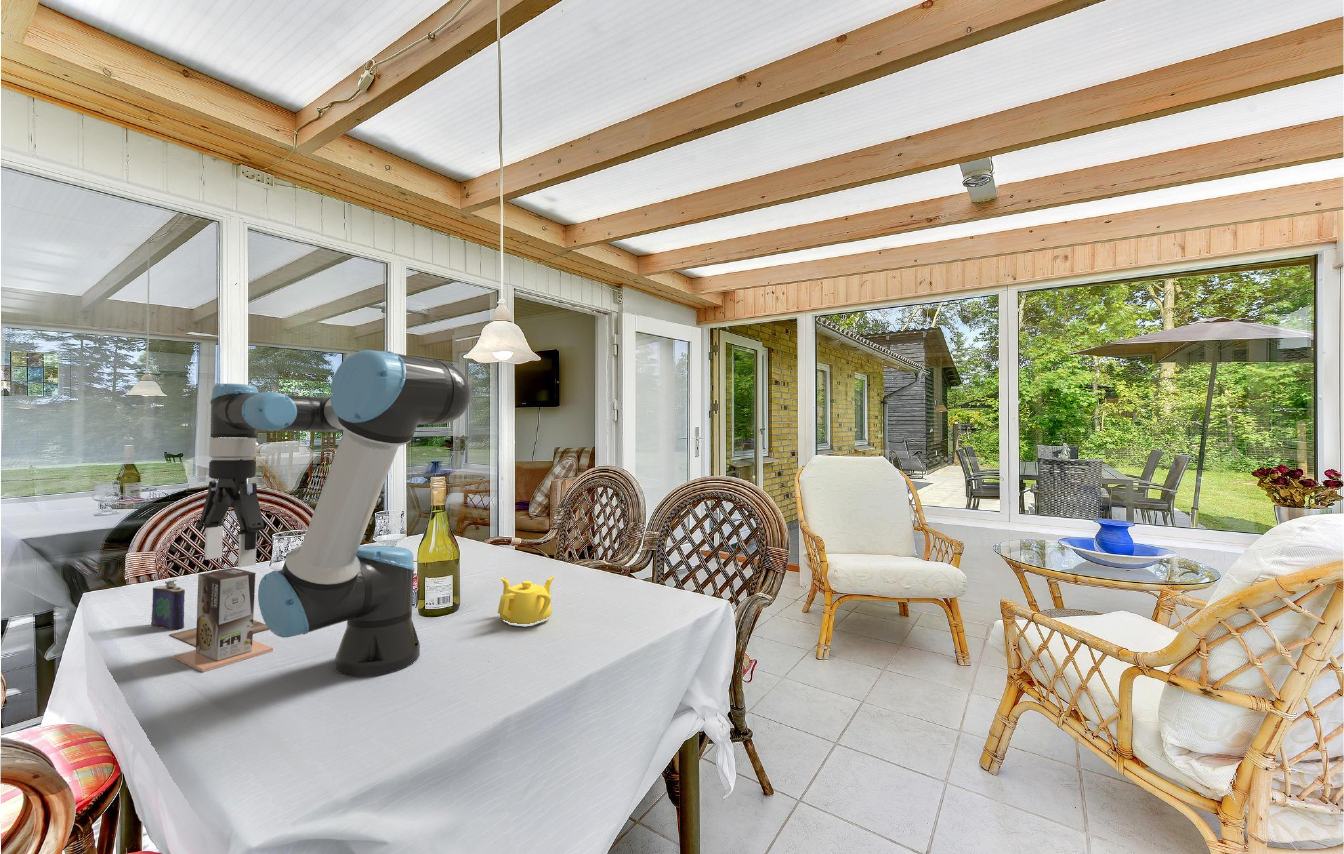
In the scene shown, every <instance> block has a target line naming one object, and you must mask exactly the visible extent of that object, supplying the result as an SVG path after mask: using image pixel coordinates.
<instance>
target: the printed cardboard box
mask: <svg viewBox="0 0 1344 854" xmlns="http://www.w3.org/2000/svg"><path fill="white" fill-rule="evenodd" d="M256 574H257V573H256V572H252V571H249V570H245V569H239V568H235V567H231V568H224V569H220V570H219V569H218V570H213V571H211V572H205V573H200V574H198V576H197V604H196V605H197V606H196V628H197V631H196V646H195V650H196V653H199V654H201V655H204V656H206V657H209V658H212V659H214V660H217V661H218V660H222V659H225V658H229V657H232V656H236V655H239V654H243V653H246V652H250V651H252V640H253V637H254V634H253V620H254V613H255V611H254V610H255V609H254V608H255V595H256V594H255V593H256V592H255V590H256Z"/></svg>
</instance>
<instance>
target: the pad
mask: <svg viewBox="0 0 1344 854" xmlns="http://www.w3.org/2000/svg"><path fill="white" fill-rule="evenodd" d="M270 651H271V652H274V647H272V646H269V645H268V644H264V643H261V642H259V641H257V640H253V639H252V651H250V652H246V653H243V654H239V655H236V656H232V657H229V658H225V659H222V660H218V661H217V660H214V659H212V658H209V657H206V656H204V655H201V654H199V653H196V649H194V650H190V651H186V652H183V653H179V654H175V655H173V660H176V659H177V660H176V661H178V660H179V661H178V662H180V661H181V662H180V663H182V662H183V663H182V664H184V663H185V664H184V665H186V664H187V665H186V666H188V665H190V666H191V667H190V666H189V667H190V668H193V667H194V668H193V669H195V670H197V669H198V670H197V671H200V672H201V671H202V672H201V673H204V672H203V671H205V672H207V671H208V672H209V671H211V670H210V669H212V670H215V669H218V668H220V667H225V666H227V665H230V664H231V665H232V664H233V663H237V662H240V661H243V660H247V659H251V658H254V657H258V656H260V655H265V654H267V653H270Z"/></svg>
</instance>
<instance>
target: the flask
mask: <svg viewBox="0 0 1344 854" xmlns="http://www.w3.org/2000/svg"><path fill="white" fill-rule="evenodd" d="M175 582H177V579H173V580H171V579H170V580H168V581H164V584H165V585H157V586H154V587H152V605H151V623H150V625H151V626H152V627H157V628H159V627H164V628H163V629H165V630H170V631H179V629H180V630H182V629H184V628H185V593H186V592H185V591H186V590H185V588H182V587H181V586H178V585H177V583H175Z"/></svg>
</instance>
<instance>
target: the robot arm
mask: <svg viewBox="0 0 1344 854" xmlns="http://www.w3.org/2000/svg"><path fill="white" fill-rule="evenodd" d="M329 392H330V393H331V394H332V395H331V396H307V395H296V394H295V395H294V394H284V393H280V392H275V391H261V392H259V389H258V387H256V386H255V385H251V384H242V383H217V384H215V385H214V386H213V387H212V391H211V399H210V403H209V404H210V436H209V446H208V447H209V448H208V449H209V450H208V452H209V453H208V456H209V457H210V458H212V459H211V460H210V461H209V462H208V464H209V465H208V477H209V478H211V479H213V480H209V482H208V490H207V491H208V492H207V494H206V498H205V501H204V504H203V508H202V511H201V512H202V513H201V516H200V519H199V523H200V524H201V525H202V524H203V527H204V528H205V537H204V538H205V539H204V540H205V541H204V560H206V561H207V560H213V559H220V558H223V539H224V538H223V537H224V536H223V535H224V526H225V522H224V521H223V520H224V518H225V517H226V514H227V512H228V510H229V508H232V509H233V511H234V514H235V517H236V520H237V522H238V524H239V528H240V530H239V531H238V556H237V557H238V560H237V563H238V564H237V568H244V567H249V566H256V565H257V538H258V537H257V535H258V533H259V531H263V530H264V529H265V524H264V519H263V515H262V510H261V507H260V502H259V497H258V487H257V486H258V485H257V483H255V482H253V483H252V482H251V483H250V482H249V483H248V479H252V478H255V477H256V474H257V461H256V460H255V459H253V458H255V457H256V456H257V447H258V446H259V443H258V442H257V438H258V435H257V434H258V431H263V432H268V431H270V432H275V431H279V432H280V431H281V432H283V431H284V432H286V431H287V432H291V431H292V432H323V433H324V432H329V433H342V435H341V438H340V440H339V443H338V446H337V449H336V452H335V454H334V458H333V459H332V462H331V465H330V468H329V471H328V473H327V476H326V479H325V481H324V483H323V486H322V490H321V492H320V495H319V498H318V500H317V502H316V506H315V508H314V511H313V513H312V517H311V520H310V523H309V525H308V528H307V530H306V533H305V536H304V538H303V541H302V543H301V545H299V546H297V547H295V548H292V549H291V550H290V551H289V552H288V554H287V556H286V558H285V560H284V563H283V566H282V568H281V570H272V571H271V572H269V573H266V574H264V575H263V576H262V578H261V580H260V581H259V584H258V590H257V599H258V600H257V601H258V607H259V610H260V615H261V616H262V619H263V623H264V624H266V625H267V627H268V628H269V631H270V632H271V633H273V635H275V636H277V637H279V638H291V637H292V638H293V637H297V636H301V635H307V634H308V633H311V632H315V631H317V630H321V629H324V628H327V627H330V626H333V625H337V624H341V623H344V622H346V628H345V632H344V633H343V637H341V638H342V639H341V641H340V644H339V647H338V650H337V652H336V654H335V659H334V668H335V671H336V672H337V673H339V674H341V675H344V676H348V677H373V676H378V675H379V676H380V675H384V674H388V673H389V674H390V673H392V672H396V671H399V670H403V669H404V667H405V668H406V667H408V665H409V666H411V665H412V664H414V663H415V662H416V661H417V660H418V659H419V658H418V657H420V651H421V649H420V648H421V645H420V644H421V643H420V640H419V637H418V635H417V634H418V633H417V631H416V627H415V624H414V622H413V619H412V618H413V596H414V595H413V593H414V592H413V590H414V575H415V574H414V573H415V566H414V563H415V562H414V554H413V552H412V551H411V550H410V549H408V548H406V547H401V546H391V545H361V543H362V541H363V538H364V535H365V533H366V530H367V528H368V525H369V523H370V520H371V518H372V515H373V512H374V510H375V507H376V505H377V502H378V500H379V496H380V494H381V492H382V490H383V487H384V484H385V483H386V479H387V477H388V474H389V472H390V469H391V467H392V464H393V461H394V459H395V456H396V454H397V451H398V449H399V447H401V446H404V445H407V444H408V443H410V442H411V441H412V440H413V437H414V434H415V432H416V430H417V427H418V426H419V425H443V424H448V423H451V422H454V421H455V420H457V419H458V418H460V417H461V416H462V415H463V414H464V413H465V411H466V410H467V409H468V407H469V405H470V401H471V388H470V384H469V381H468V379H467V378H466V376H465V375H464V374H463V372H461V370H459V368H457V367H456V366H454V365H453V364H450V363H448V362H446V361H441V360H437V359H429V358H424V357H423V358H422V357H419V356H413V355H412V356H411V355H405V354H400V353H395V352H393V351H388V350H371V349H367V350H366V349H365V350H360V351H357V352H356V353H352V354H351V355H349V356H347V358H345V359H344V360H343V361H342V362H341V363H340V365H339V366H338V367H337V369H336V371H335V373H334V375H333V377H332V380H331V383H330V389H329ZM215 479H216V480H215ZM217 479H218V480H217ZM414 661H415V662H414ZM413 662H414V663H413ZM411 663H412V664H411ZM410 664H411V665H410Z"/></svg>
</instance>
